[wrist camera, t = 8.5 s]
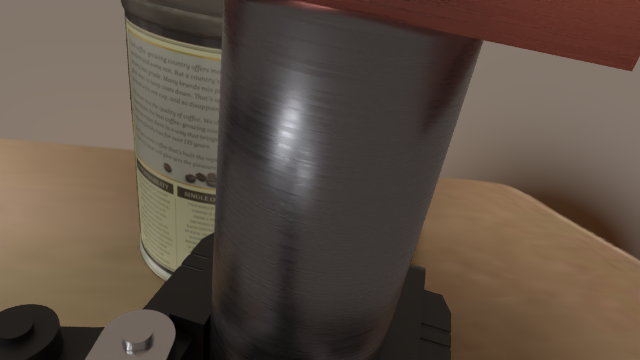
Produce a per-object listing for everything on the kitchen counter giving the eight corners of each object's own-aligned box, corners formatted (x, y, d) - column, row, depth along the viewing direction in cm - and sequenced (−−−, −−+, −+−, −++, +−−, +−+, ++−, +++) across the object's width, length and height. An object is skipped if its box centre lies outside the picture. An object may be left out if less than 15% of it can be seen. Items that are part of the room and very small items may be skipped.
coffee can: (127, 202, 29) (108, -34, 22) (275, 185, 34) (298, -16, 27) (152, 320, 22) (136, 15, 15) (339, 276, 26) (395, 29, 19)
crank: (323, 206, 29) (377, -86, 21) (421, 235, 28) (520, -62, 20) (126, 564, 12) (7, -210, 4) (351, 672, 11) (809, -97, 3)
